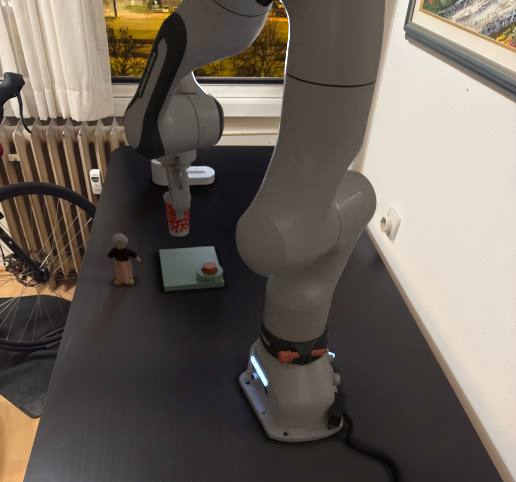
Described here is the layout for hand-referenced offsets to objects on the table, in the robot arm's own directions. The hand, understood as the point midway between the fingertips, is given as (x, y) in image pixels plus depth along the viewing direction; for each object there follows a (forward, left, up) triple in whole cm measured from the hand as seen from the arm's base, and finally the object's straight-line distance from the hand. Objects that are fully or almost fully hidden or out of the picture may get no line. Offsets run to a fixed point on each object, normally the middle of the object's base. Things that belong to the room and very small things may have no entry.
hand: (178, 210), depth 109 cm
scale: (-3, -2, -15) cm, 15 cm away
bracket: (+50, -6, -15) cm, 52 cm away
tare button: (-8, -6, -12) cm, 16 cm away
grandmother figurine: (-6, +13, -15) cm, 21 cm away
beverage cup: (0, 0, -6) cm, 6 cm away
